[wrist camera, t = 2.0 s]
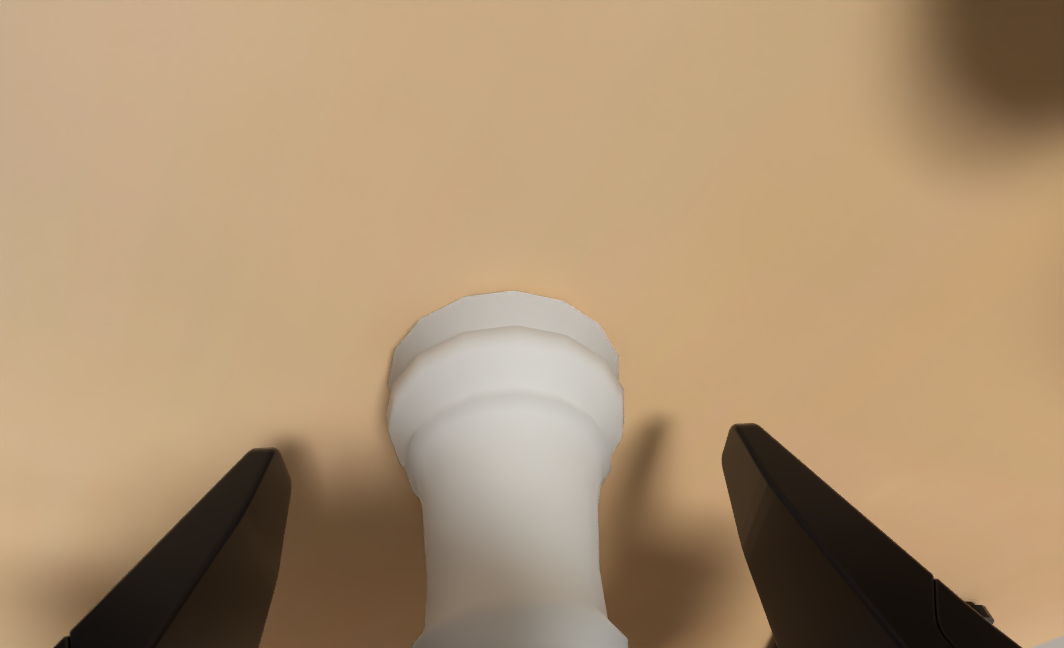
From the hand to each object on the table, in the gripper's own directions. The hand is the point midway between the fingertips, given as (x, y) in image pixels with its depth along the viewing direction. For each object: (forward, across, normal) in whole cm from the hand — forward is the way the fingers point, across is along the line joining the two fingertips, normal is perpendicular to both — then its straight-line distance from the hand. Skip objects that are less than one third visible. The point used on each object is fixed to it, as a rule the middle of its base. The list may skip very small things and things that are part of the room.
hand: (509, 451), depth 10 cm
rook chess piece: (+2, 0, 0) cm, 2 cm away
